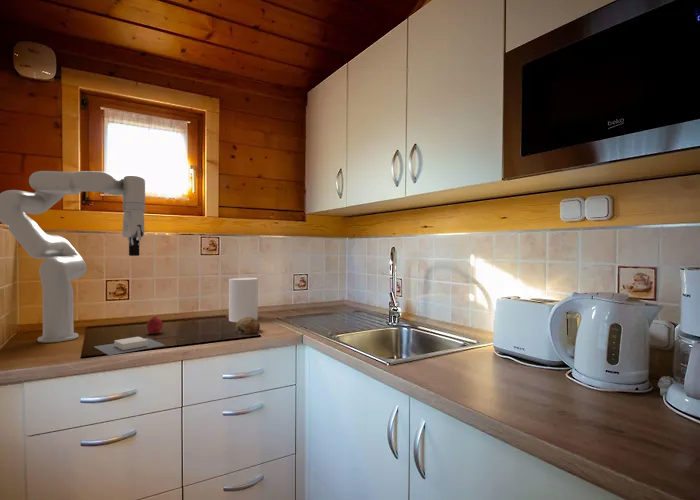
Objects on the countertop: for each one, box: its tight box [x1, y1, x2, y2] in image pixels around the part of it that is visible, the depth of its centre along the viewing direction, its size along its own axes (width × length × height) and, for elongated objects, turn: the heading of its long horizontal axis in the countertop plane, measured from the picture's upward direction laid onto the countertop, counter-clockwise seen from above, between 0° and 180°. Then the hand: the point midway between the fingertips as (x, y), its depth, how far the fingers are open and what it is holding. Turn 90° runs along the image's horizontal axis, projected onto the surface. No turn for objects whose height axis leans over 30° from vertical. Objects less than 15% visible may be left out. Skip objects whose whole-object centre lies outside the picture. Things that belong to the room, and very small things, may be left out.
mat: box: [93, 337, 165, 356], centre depth 140 cm, size 16×18×1 cm
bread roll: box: [235, 317, 261, 335], centre depth 167 cm, size 10×10×8 cm
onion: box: [146, 314, 164, 335], centre depth 160 cm, size 6×6×8 cm
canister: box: [228, 277, 259, 323], centre depth 194 cm, size 14×14×20 cm
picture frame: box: [114, 336, 148, 350], centre depth 139 cm, size 2×8×8 cm
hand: (134, 255), depth 153 cm, fingers closed
